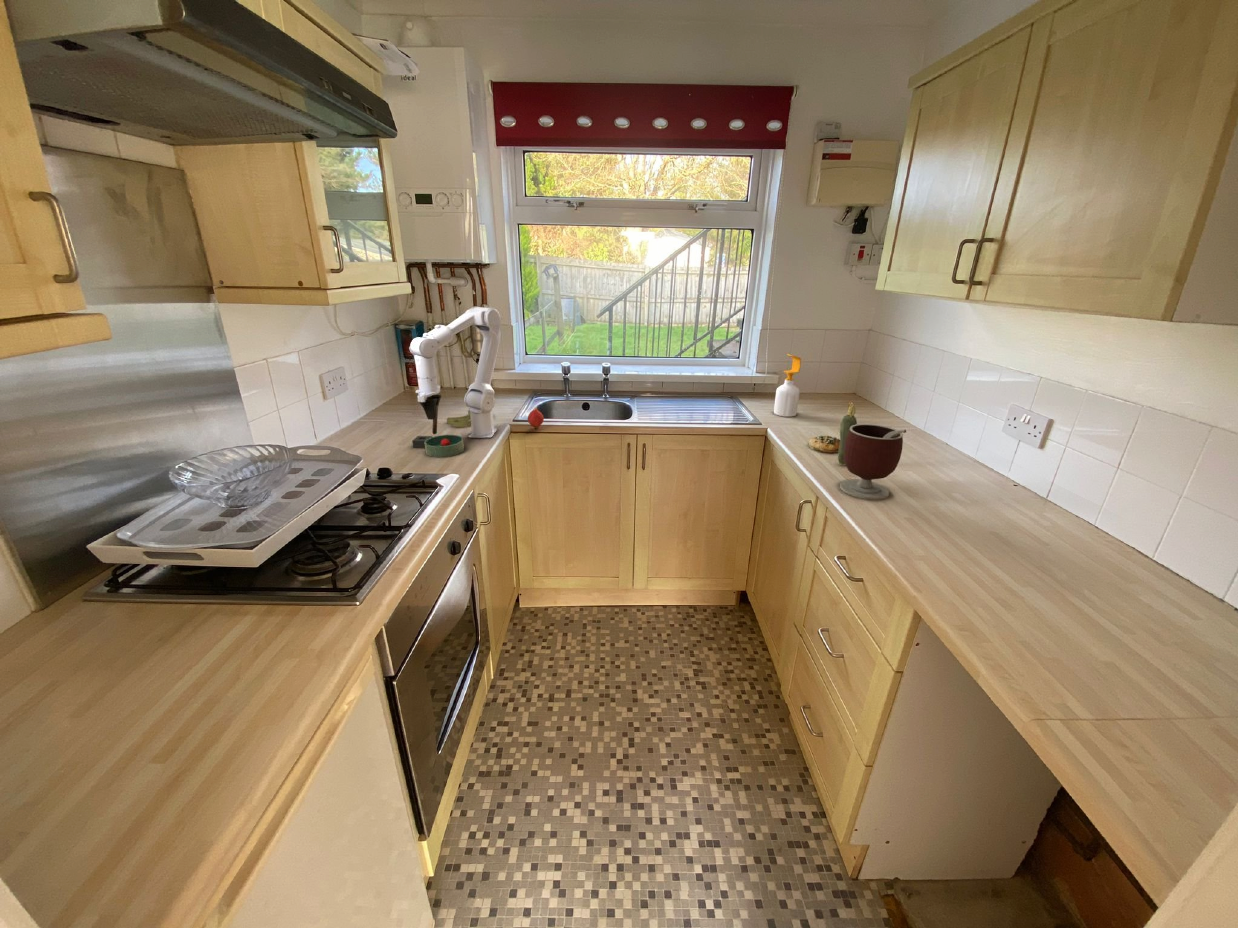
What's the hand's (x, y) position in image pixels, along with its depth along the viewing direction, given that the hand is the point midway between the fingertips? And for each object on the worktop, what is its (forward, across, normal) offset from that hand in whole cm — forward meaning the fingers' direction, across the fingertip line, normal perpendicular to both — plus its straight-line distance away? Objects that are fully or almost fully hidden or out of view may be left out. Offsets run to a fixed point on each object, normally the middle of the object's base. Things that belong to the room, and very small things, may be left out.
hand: (432, 418), depth 165 cm
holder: (+10, -3, -6) cm, 12 cm away
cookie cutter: (+11, -32, +2) cm, 34 cm away
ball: (+8, +1, +4) cm, 9 cm away
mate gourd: (+11, +30, +129) cm, 133 cm away
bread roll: (+11, -5, +130) cm, 131 cm away
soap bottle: (+11, -47, +129) cm, 138 cm away
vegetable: (+11, +11, +130) cm, 131 cm away
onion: (+11, -23, +29) cm, 39 cm away
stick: (+5, 0, 0) cm, 5 cm away
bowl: (+10, +2, +4) cm, 11 cm away
